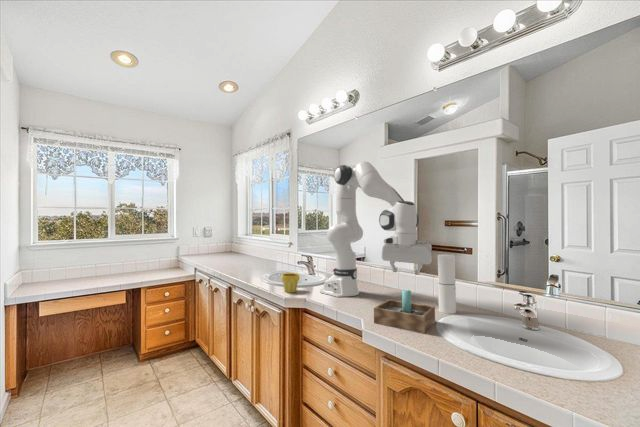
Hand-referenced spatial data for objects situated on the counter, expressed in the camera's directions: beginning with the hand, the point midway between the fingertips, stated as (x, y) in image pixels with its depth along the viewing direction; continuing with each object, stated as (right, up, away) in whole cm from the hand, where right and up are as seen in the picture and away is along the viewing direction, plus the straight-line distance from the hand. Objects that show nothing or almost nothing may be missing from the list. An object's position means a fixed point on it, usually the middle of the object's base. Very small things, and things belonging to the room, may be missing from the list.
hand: (405, 273), depth 125 cm
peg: (0, -19, 0) cm, 19 cm away
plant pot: (-53, -21, +51) cm, 76 cm away
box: (-1, -19, -3) cm, 20 cm away
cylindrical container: (+22, -19, +10) cm, 31 cm away
